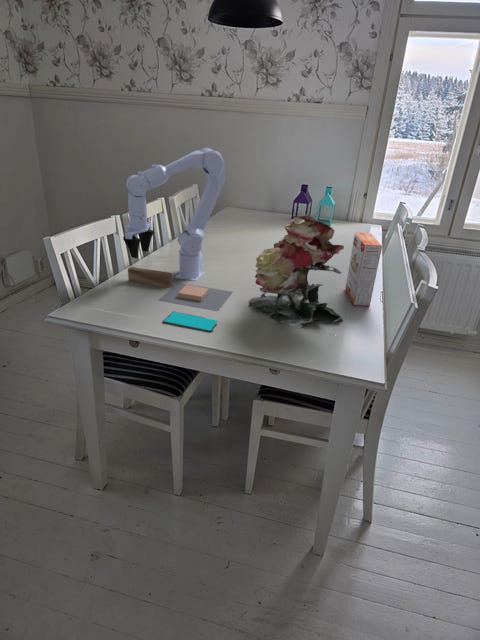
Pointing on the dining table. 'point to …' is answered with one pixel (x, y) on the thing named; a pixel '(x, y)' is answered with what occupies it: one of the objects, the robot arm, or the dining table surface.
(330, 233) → the rose bouquet
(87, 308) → the dining table surface
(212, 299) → the mat
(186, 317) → the smartphone
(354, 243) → the cracker box
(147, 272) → the brown wooden plank
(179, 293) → the tile
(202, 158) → the robot arm
